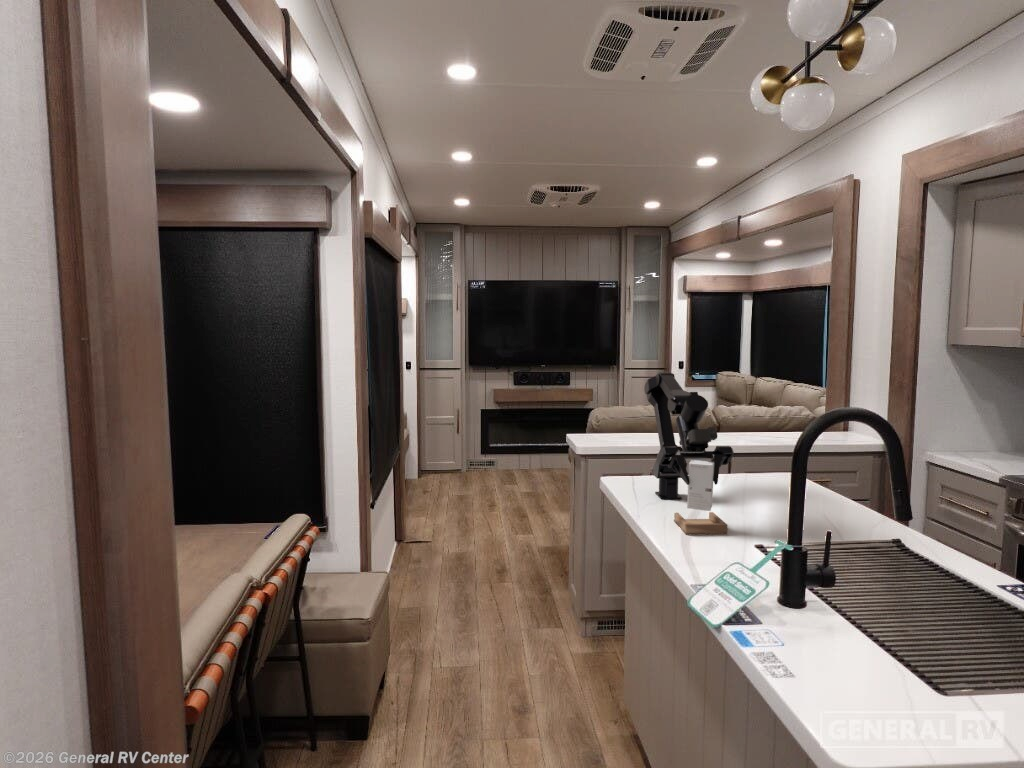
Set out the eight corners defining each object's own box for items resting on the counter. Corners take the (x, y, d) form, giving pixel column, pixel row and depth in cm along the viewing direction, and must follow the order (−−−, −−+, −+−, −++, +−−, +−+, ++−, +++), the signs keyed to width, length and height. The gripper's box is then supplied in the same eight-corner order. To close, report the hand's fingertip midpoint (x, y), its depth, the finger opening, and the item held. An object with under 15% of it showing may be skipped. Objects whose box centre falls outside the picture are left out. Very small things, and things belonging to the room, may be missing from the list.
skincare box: (686, 508, 153) (687, 463, 152) (688, 503, 157) (689, 459, 156) (711, 511, 151) (712, 465, 149) (713, 506, 155) (714, 461, 153)
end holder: (673, 521, 159) (673, 512, 159) (711, 520, 160) (712, 511, 159) (686, 534, 149) (686, 525, 149) (727, 534, 149) (727, 524, 149)
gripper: (662, 416, 155) (673, 468, 145) (732, 415, 156) (748, 467, 146) (653, 439, 164) (663, 490, 154) (720, 439, 164) (734, 489, 155)
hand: (702, 483), depth 152 cm, fingers closed on skincare box, 7 cm apart
